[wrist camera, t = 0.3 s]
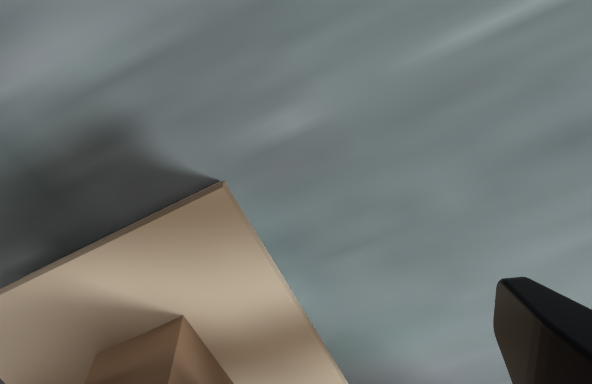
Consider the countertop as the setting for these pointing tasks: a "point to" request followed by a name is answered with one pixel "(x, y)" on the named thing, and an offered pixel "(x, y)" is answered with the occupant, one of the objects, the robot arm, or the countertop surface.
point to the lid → (164, 308)
